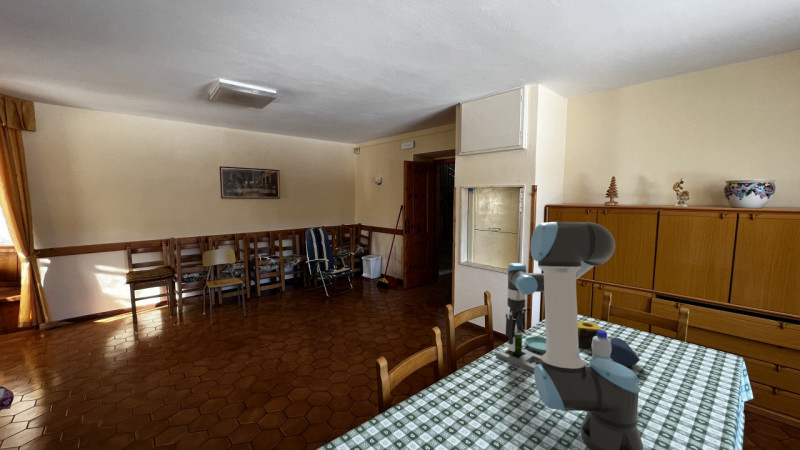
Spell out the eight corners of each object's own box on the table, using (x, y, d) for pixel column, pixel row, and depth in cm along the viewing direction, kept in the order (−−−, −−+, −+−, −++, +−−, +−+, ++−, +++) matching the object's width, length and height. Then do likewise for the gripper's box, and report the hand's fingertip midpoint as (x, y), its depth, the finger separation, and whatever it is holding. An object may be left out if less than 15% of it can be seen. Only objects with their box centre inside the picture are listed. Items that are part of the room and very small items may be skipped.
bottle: (613, 386, 120) (615, 335, 119) (594, 384, 122) (596, 333, 120) (605, 376, 127) (607, 328, 125) (587, 374, 128) (589, 326, 127)
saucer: (565, 352, 148) (565, 346, 147) (541, 358, 142) (541, 352, 142) (541, 339, 161) (541, 334, 161) (518, 344, 156) (518, 339, 156)
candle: (577, 347, 152) (578, 327, 151) (572, 339, 161) (573, 320, 161) (601, 350, 149) (602, 330, 148) (595, 341, 158) (595, 322, 158)
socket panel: (544, 376, 127) (544, 371, 127) (496, 356, 143) (496, 352, 143) (557, 366, 135) (557, 361, 134) (510, 348, 151) (510, 344, 151)
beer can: (518, 353, 146) (518, 327, 145) (523, 358, 140) (524, 332, 139) (506, 353, 145) (507, 328, 144) (512, 359, 140) (512, 333, 139)
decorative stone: (612, 369, 132) (613, 346, 131) (601, 355, 144) (602, 334, 143) (644, 372, 129) (645, 349, 128) (630, 358, 141) (631, 337, 140)
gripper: (513, 304, 132) (512, 358, 133) (534, 295, 144) (533, 344, 146) (497, 300, 137) (496, 351, 139) (519, 292, 150) (518, 339, 151)
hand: (515, 348), depth 142 cm, fingers open, 6 cm apart
